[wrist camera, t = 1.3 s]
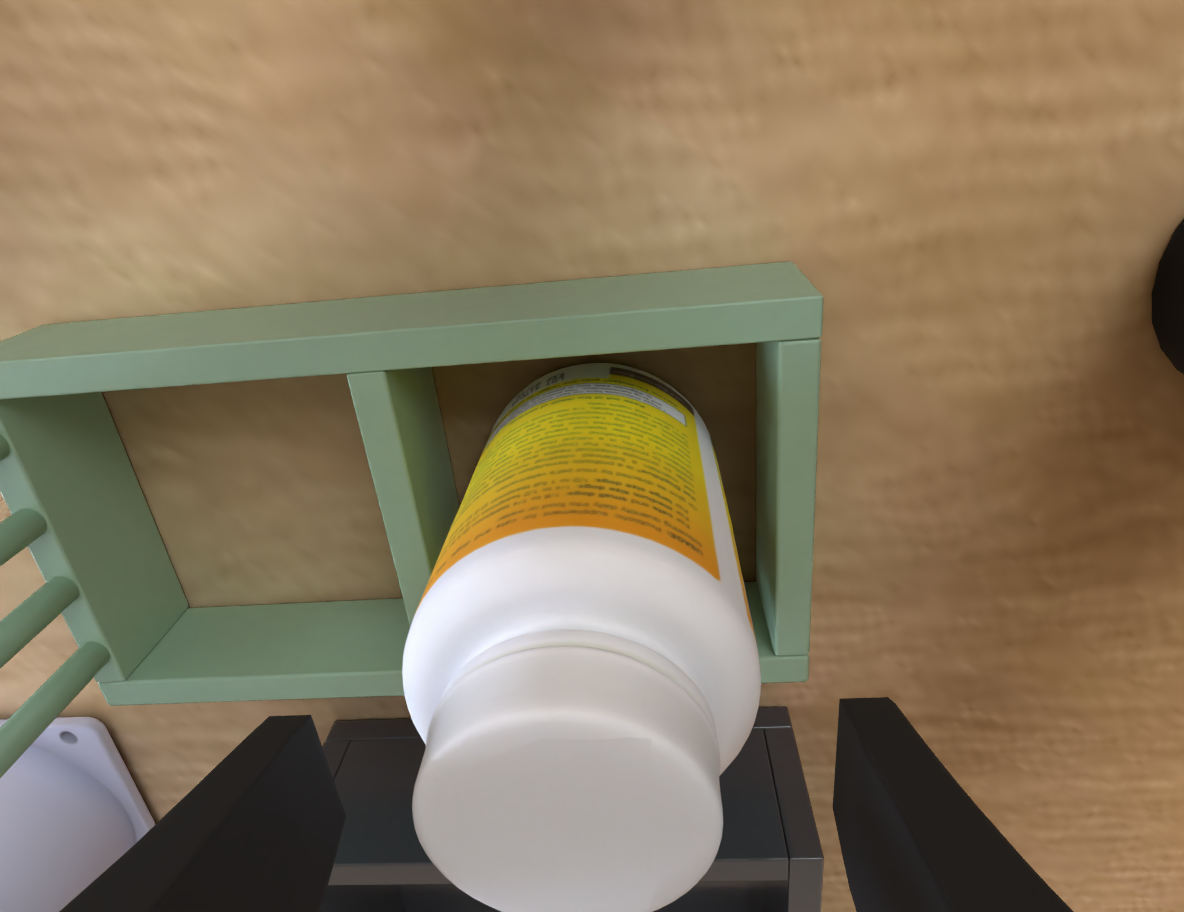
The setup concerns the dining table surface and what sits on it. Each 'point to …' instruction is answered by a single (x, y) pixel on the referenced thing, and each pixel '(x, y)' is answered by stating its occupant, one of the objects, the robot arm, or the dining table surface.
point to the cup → (1171, 300)
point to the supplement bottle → (583, 654)
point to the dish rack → (397, 462)
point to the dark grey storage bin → (438, 908)
